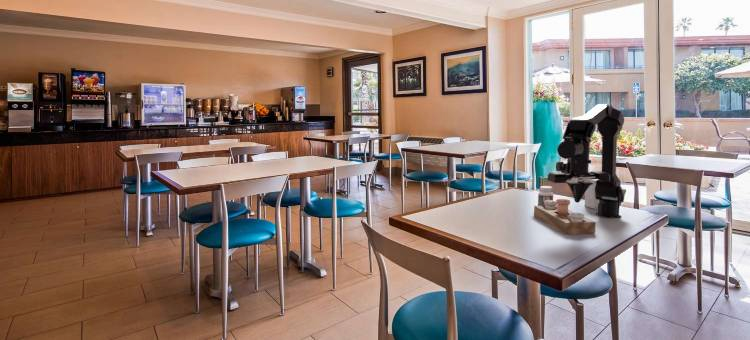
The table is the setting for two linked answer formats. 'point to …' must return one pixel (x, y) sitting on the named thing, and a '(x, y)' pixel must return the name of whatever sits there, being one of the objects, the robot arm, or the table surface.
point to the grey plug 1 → (550, 204)
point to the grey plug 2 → (576, 216)
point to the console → (564, 221)
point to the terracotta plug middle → (562, 206)
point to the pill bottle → (544, 195)
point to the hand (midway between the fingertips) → (577, 202)
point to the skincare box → (591, 196)
